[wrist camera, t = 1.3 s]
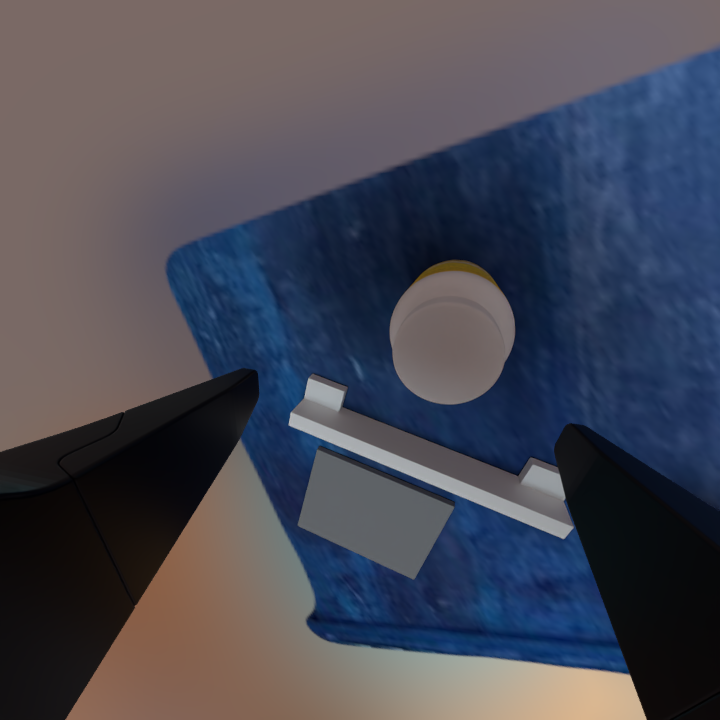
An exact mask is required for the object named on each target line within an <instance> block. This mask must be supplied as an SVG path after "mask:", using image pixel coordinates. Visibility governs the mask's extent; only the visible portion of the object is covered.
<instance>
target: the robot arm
mask: <svg viewBox="0 0 720 720" xmlns="http://www.w3.org/2000/svg"><path fill="white" fill-rule="evenodd" d="M258 398H259V382H258V373H257V371H256V370H253V369H247V368H242V369H239V370H236V371H234V372H231V373H228V374H225V375H223V376H220V377H217V378H214V379H212V380H209V381H206V382H204V383H201V384H198V385H195V386H192V387H190V388H187V389H184V390H182V391H179V392H176V393H173V394H171V395H168V396H165V397H162V398H160V399H157V400H154V401H152V402H149V403H146V404H143V405H140V406H138V407H135V408H132V409H129V410H127V411H125V413H124V412H121V413H118V414H116V415H113V416H110V417H107V418H105V419H102V420H99V421H96V422H93V423H90V424H87V425H84V426H82V427H78V428H75V429H72V430H69V431H66V432H63V433H60V434H57V435H53V436H50V437H47V438H44V439H41V440H37V441H34V442H31V443H28V444H24V445H21V446H18V447H15V448H12V449H9V450H5V451H2V452H0V720H65V719H66V718H67V716H68V714H69V713H70V711H71V710H72V708H73V706H74V705H75V703H76V702H77V700H78V698H79V697H80V695H81V693H82V692H83V690H84V689H85V687H86V686H87V684H88V682H89V681H90V679H91V678H92V676H93V674H94V672H95V671H96V670H97V668H98V666H99V665H100V663H101V661H102V660H103V658H104V657H105V655H106V653H107V652H108V650H109V649H110V647H111V645H112V644H113V642H114V640H115V639H116V637H117V636H118V634H119V633H120V631H121V629H122V628H123V626H124V625H125V623H126V621H127V620H128V618H129V617H130V615H131V613H132V612H133V610H134V608H135V605H137V603H138V602H139V600H140V598H141V597H142V595H143V594H144V592H145V590H146V589H147V587H148V585H149V584H150V582H151V581H152V579H153V578H154V576H155V574H156V573H157V571H158V570H159V568H160V566H161V565H162V563H163V561H164V560H165V558H166V557H167V555H168V554H169V552H170V550H171V549H172V547H173V546H174V544H175V542H176V541H177V539H178V537H179V536H180V534H181V533H182V531H183V529H184V528H185V526H186V525H187V523H188V521H189V520H190V518H191V517H192V515H193V513H194V512H195V510H196V509H197V507H198V505H199V504H200V502H201V501H202V499H203V497H204V495H205V494H206V493H207V491H208V489H209V488H210V486H211V485H212V483H213V481H214V480H215V478H216V477H217V475H218V473H219V472H220V470H221V469H222V467H223V465H224V464H225V462H226V460H227V459H228V457H229V456H230V454H231V452H232V451H233V449H234V447H235V446H236V444H237V443H238V441H239V439H240V437H241V435H242V433H243V431H244V428H245V426H246V424H247V422H248V420H249V418H250V416H251V414H252V412H253V409H254V407H255V405H256V403H257V401H258ZM554 453H555V458H556V462H557V466H558V470H559V474H560V478H561V482H562V486H563V490H564V494H565V497H566V501H567V504H568V507H569V510H570V513H571V516H572V518H573V521H574V524H575V527H576V529H577V532H578V535H579V537H580V540H581V543H582V546H583V548H584V551H585V554H586V556H587V559H588V562H589V564H590V567H591V570H592V573H593V575H594V578H595V581H596V583H597V586H598V589H599V592H600V594H601V597H602V600H603V602H604V605H605V608H606V610H607V613H608V616H609V619H610V621H611V624H612V627H613V629H614V632H615V635H616V638H617V640H618V643H619V646H620V648H621V651H622V654H623V656H624V659H625V662H626V665H627V667H628V670H629V673H630V675H631V678H632V681H633V683H634V686H635V689H636V692H637V694H638V697H639V699H640V702H641V705H642V708H643V710H644V713H645V716H646V719H647V720H720V512H719V511H718V510H716V509H714V508H713V507H711V506H710V505H708V504H707V503H705V502H703V501H702V500H700V499H699V498H697V497H696V496H694V495H693V494H691V493H689V492H688V491H686V490H685V489H683V488H682V487H680V486H679V485H677V484H675V483H674V482H672V481H671V480H669V479H668V478H666V477H664V476H663V475H661V474H660V473H658V472H657V471H655V470H654V469H652V468H650V467H649V466H647V465H646V464H644V463H643V462H641V461H640V460H638V459H636V458H635V457H633V456H632V455H630V454H629V453H627V452H625V451H624V450H622V449H621V448H619V447H618V446H616V445H615V444H613V443H611V442H610V441H608V440H607V439H605V438H604V437H602V436H601V435H599V434H597V433H596V432H594V431H593V430H591V429H590V428H588V427H586V426H584V425H579V424H572V423H570V424H567V425H566V426H565V427H564V429H563V431H562V433H561V435H560V437H559V439H558V440H557V442H556V444H555V448H554Z"/></svg>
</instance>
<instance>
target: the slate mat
mask: <svg viewBox="0 0 720 720" xmlns="http://www.w3.org/2000/svg"><path fill="white" fill-rule="evenodd" d="M454 507H455V502H453V501H450V500H448V499H446V498H443V497H441V496H438V495H436V494H434V493H431V492H429V491H426V490H424V489H422V488H419V487H417V486H414V485H412V484H410V483H407V482H405V481H402V480H400V479H398V478H395V477H393V476H390V475H388V474H386V473H383V472H381V471H379V470H376V469H374V468H371V467H369V466H367V465H364V464H362V463H359V462H357V461H355V460H352V459H350V458H347V457H345V456H343V455H340V454H338V453H335V452H333V451H331V450H328V449H326V448H323V447H321V446H319V448H318V449H317V453H316V456H315V460H314V464H313V468H312V472H311V476H310V480H309V484H308V488H307V491H306V495H305V499H304V503H303V507H302V511H301V515H300V519H299V523H298V526H299V527H302V528H304V529H306V530H308V531H310V532H312V533H314V534H317V535H319V536H321V537H323V538H325V539H327V540H330V541H332V542H334V543H336V544H338V545H340V546H342V547H345V548H347V549H349V550H351V551H353V552H355V553H358V554H360V555H362V556H364V557H366V558H368V559H370V560H373V561H375V562H377V563H379V564H381V565H383V566H386V567H388V568H390V569H392V570H394V571H396V572H398V573H401V574H403V575H405V576H407V577H409V578H411V579H413V580H414V579H415V577H416V575H417V573H418V572H419V570H420V568H421V566H422V564H423V563H424V561H425V559H426V557H427V555H428V554H429V552H430V550H431V548H432V547H433V545H434V543H435V541H436V539H437V538H438V536H439V534H440V532H441V530H442V529H443V527H444V525H445V523H446V522H447V520H448V518H449V516H450V514H451V513H452V511H453V509H454Z"/></svg>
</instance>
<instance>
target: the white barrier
mask: <svg viewBox="0 0 720 720" xmlns="http://www.w3.org/2000/svg"><path fill="white" fill-rule="evenodd" d="M347 389H348V387H346V386H343V385H341V384H338V383H335V382H333V381H330V380H328V379H325V378H322V377H320V376H317V375H314V374H312V375H311V376H310V377H309V378H308V382H307V387H306V392H305V396H304V399H303V400H302V401H301V402H300V403H299V404H298V405H297V406H296V408H295V409H294V410H293V411H292V412H291V415H290V420H289V426H292V427H294V428H296V429H299V430H301V431H304V432H306V433H309V434H311V435H313V436H316V437H318V438H321V439H323V440H325V441H328V442H330V443H333V444H335V445H338V446H340V447H342V448H345V449H347V450H350V451H352V452H354V453H357V454H359V455H362V456H364V457H367V458H369V459H371V460H374V461H376V462H379V463H381V464H383V465H386V466H388V467H391V468H393V469H395V470H398V471H400V472H403V473H405V474H408V475H410V476H412V477H415V478H417V479H420V480H422V481H424V482H427V483H429V484H432V485H434V486H437V487H439V488H441V489H444V490H446V491H449V492H451V493H453V494H456V495H458V496H461V497H463V498H466V499H468V500H470V501H473V502H475V503H478V504H480V505H482V506H485V507H487V508H490V509H492V510H495V511H497V512H499V513H502V514H504V515H507V516H509V517H511V518H514V519H516V520H519V521H521V522H524V523H526V524H528V525H531V526H533V527H536V528H538V529H540V530H543V531H545V532H548V533H550V534H553V535H555V536H557V537H560V538H562V539H565V537H566V536H567V535H568V534H569V533H570V531H571V530H572V529H573V528H574V526H573V524H572V521H571V519H570V516H569V514H568V511H567V509H566V506H565V504H564V500H565V498H566V497H565V494H564V490H563V486H562V482H561V478H560V474H559V470H558V467H555V466H553V465H550V464H548V463H545V462H542V461H540V460H537V459H534V458H532V457H530V459H529V460H528V462H527V463H526V465H525V466H524V468H523V469H522V471H521V473H520V474H519V476H516V475H514V474H511V473H509V472H506V471H504V470H501V469H498V468H496V467H493V466H491V465H488V464H486V463H483V462H481V461H478V460H476V459H473V458H471V457H468V456H465V455H463V454H460V453H458V452H455V451H453V450H450V449H448V448H445V447H443V446H440V445H437V444H435V443H432V442H430V441H427V440H425V439H422V438H420V437H417V436H415V435H412V434H409V433H407V432H404V431H402V430H399V429H397V428H394V427H392V426H389V425H387V424H384V423H381V422H379V421H376V420H374V419H371V418H369V417H366V416H364V415H361V414H359V413H356V412H354V411H351V410H348V409H346V408H343V407H342V406H343V403H344V399H345V396H346V392H347Z"/></svg>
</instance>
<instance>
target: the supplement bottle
mask: <svg viewBox="0 0 720 720" xmlns="http://www.w3.org/2000/svg"><path fill="white" fill-rule="evenodd" d="M514 338H515V322H514V316H513V313H512V310H511V307H510V304H509V302H508V300H507V299H506V297H505V295H504V294H503V292H502V291H501V290H500V288H499V287H498V285H497V284H496V282H495V281H494V279H493V278H492V277H491V275H490V274H489V273H488V272H487V271H485V270H484V269H483V268H482V267H480V266H478V265H477V264H474V263H472V262H469V261H465V260H448V261H443V262H440V263H437V264H435V265H433V266H431V267H429V268H428V269H426V270H425V271H424V272H423V273H422V274H421V275H420V276H419V277H418V278H417V279H416V280H415V281H414V283H413V284H412V285H411V286H410V287H409V288H408V289H407V290H406V291H405V292H404V294H403V295H402V297H401V298H400V300H399V302H398V303H397V305H396V307H395V309H394V311H393V314H392V318H391V322H390V341H391V346H392V349H393V362H394V366H395V369H396V372H397V374H398V376H399V378H400V379H401V381H402V382H403V383H404V384H405V386H406V387H407V388H408V389H409V390H410V391H412V392H413V393H414V394H416V395H417V396H419V397H421V398H423V399H425V400H428V401H431V402H434V403H439V404H460V403H464V402H468V401H471V400H473V399H475V398H477V397H479V396H481V395H482V394H484V393H485V392H486V391H488V390H489V389H490V388H491V387H492V386H493V385H494V383H495V382H496V381H497V379H498V378H499V376H500V374H501V372H502V369H503V366H504V362H505V361H506V359H507V358H508V356H509V354H510V352H511V349H512V346H513V343H514Z"/></svg>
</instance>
